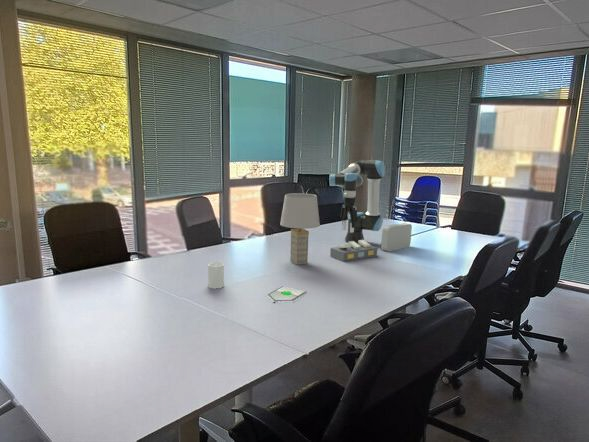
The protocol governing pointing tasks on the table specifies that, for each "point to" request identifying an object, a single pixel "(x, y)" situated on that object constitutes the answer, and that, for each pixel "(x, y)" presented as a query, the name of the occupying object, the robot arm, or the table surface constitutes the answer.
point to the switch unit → (353, 253)
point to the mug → (215, 275)
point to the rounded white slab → (396, 237)
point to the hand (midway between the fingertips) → (347, 231)
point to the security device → (286, 294)
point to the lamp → (300, 223)
